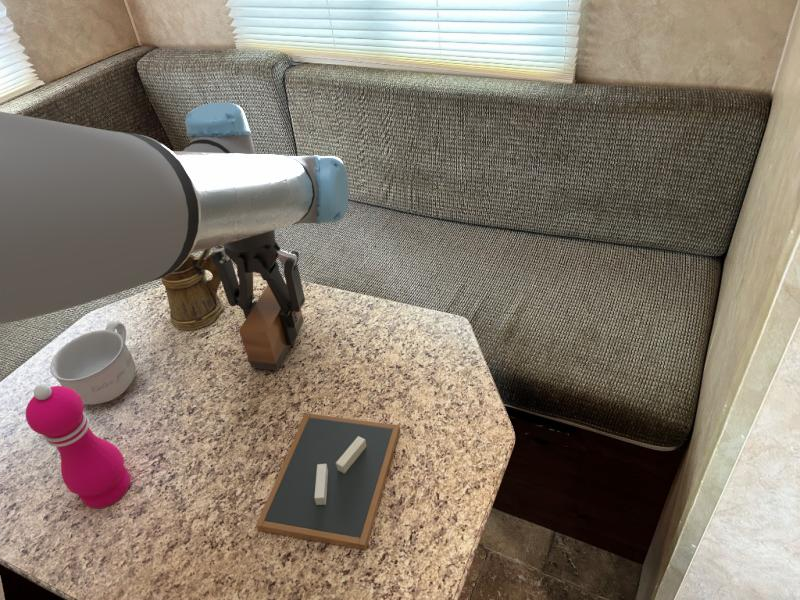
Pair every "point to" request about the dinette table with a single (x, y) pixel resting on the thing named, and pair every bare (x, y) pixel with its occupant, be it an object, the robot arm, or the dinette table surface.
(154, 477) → the dinette table surface
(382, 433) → the chalkboard
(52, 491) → the dinette table surface
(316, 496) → the white rectangular bar
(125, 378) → the teacup
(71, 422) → the pepper mill
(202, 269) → the wooden mug
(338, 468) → the white chalk stick
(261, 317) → the eraser
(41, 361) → the dinette table surface
